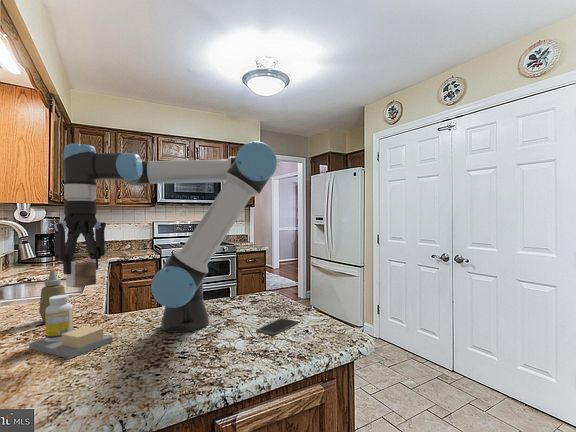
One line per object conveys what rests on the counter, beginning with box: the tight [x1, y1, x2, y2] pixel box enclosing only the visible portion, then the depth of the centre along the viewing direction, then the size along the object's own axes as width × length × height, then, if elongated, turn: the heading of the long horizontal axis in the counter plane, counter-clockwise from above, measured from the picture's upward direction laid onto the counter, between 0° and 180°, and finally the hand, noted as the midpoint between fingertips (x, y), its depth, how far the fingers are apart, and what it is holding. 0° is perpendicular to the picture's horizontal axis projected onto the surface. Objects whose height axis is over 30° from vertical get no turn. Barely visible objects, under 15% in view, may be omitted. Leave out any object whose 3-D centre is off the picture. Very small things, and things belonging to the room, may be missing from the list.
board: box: [28, 325, 114, 360], centre depth 89 cm, size 18×12×4 cm, turn 66°
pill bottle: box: [44, 294, 74, 340], centre depth 91 cm, size 6×6×12 cm
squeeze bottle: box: [38, 269, 66, 323], centre depth 112 cm, size 8×8×18 cm
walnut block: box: [68, 261, 97, 289], centre depth 87 cm, size 5×5×6 cm
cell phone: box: [256, 317, 299, 337], centre depth 100 cm, size 7×14×1 cm, turn 144°
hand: (81, 283), depth 87 cm, fingers closed on walnut block, 5 cm apart
